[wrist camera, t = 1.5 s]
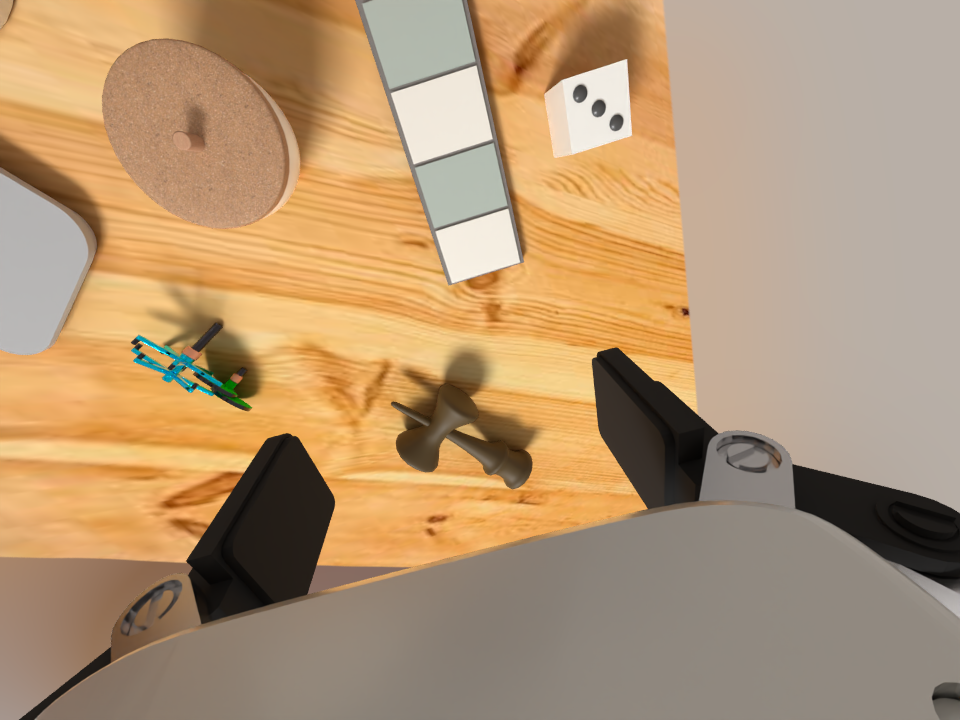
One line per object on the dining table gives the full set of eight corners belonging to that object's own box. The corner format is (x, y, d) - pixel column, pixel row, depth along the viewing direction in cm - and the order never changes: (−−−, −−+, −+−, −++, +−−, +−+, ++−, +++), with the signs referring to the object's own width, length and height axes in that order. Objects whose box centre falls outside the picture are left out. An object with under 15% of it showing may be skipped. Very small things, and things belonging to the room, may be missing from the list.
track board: (325, -94, 25) (320, -107, 24) (435, -132, 24) (435, -146, 23) (448, 283, 37) (448, 286, 36) (521, 260, 37) (524, 262, 36)
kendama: (494, 478, 51) (371, 417, 44) (538, 432, 49) (415, 358, 41) (503, 512, 46) (364, 449, 38) (553, 463, 44) (415, 385, 36)
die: (543, 94, 31) (562, 79, 27) (599, 76, 31) (627, 58, 26) (553, 158, 33) (572, 154, 29) (605, 141, 33) (632, 135, 29)
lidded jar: (191, 207, 32) (105, 218, 23) (166, 57, 27) (47, 3, 19) (319, 227, 34) (281, 243, 25) (315, 89, 29) (267, 53, 21)
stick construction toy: (116, 348, 34) (116, 365, 29) (172, 294, 36) (182, 301, 31) (234, 408, 42) (251, 430, 37) (275, 360, 44) (296, 375, 39)
